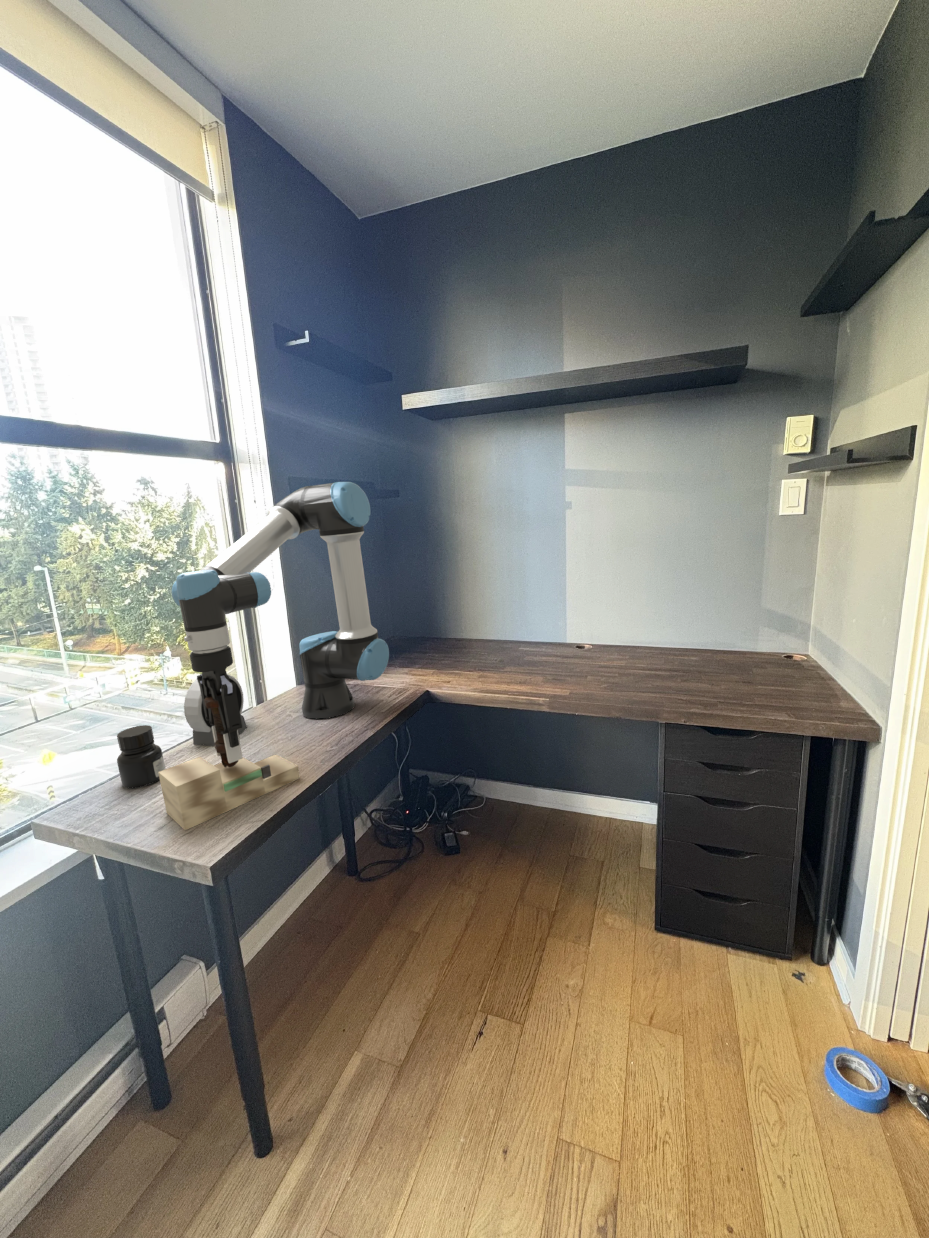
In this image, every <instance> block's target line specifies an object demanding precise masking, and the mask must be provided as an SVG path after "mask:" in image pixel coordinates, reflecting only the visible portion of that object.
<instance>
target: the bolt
mask: <svg viewBox="0 0 929 1238" xmlns="http://www.w3.org/2000/svg"><path fill="white" fill-rule="evenodd" d="M220 695H221V694H220ZM217 696H219V695H217ZM204 701H205V706H206V708H207V709H208V708H211V711H212V714H213V719H214V725H215V728H216V729H215V730H216V734H217V739H218V740H217V741H216V742H215V746H214V747H215V752H217V753H220V756H219V757H220V761H221V762H220V763H222V765H224V767H227V766H228V767H233V766H234V765H236V764H237V762H238V760H237V761H235V762H232V763H228V759H227V754H226V748H225V743H224V737H223V735H222V734H221V732H222V731H224V727H223V724H222V720H221V716H220V713H219V709H218V708H219V705H218V701H216V700H213V698H212V696H211V697H206V698H205V699H204ZM217 753H216V754H217Z"/></svg>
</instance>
